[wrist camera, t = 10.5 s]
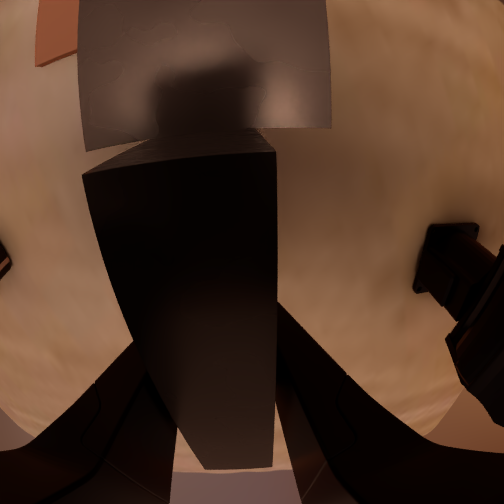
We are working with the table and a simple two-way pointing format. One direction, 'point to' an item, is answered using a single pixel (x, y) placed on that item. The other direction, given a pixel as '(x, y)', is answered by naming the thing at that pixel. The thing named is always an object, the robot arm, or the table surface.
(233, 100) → the turner
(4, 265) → the battery charger
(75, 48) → the tile
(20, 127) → the table surface
